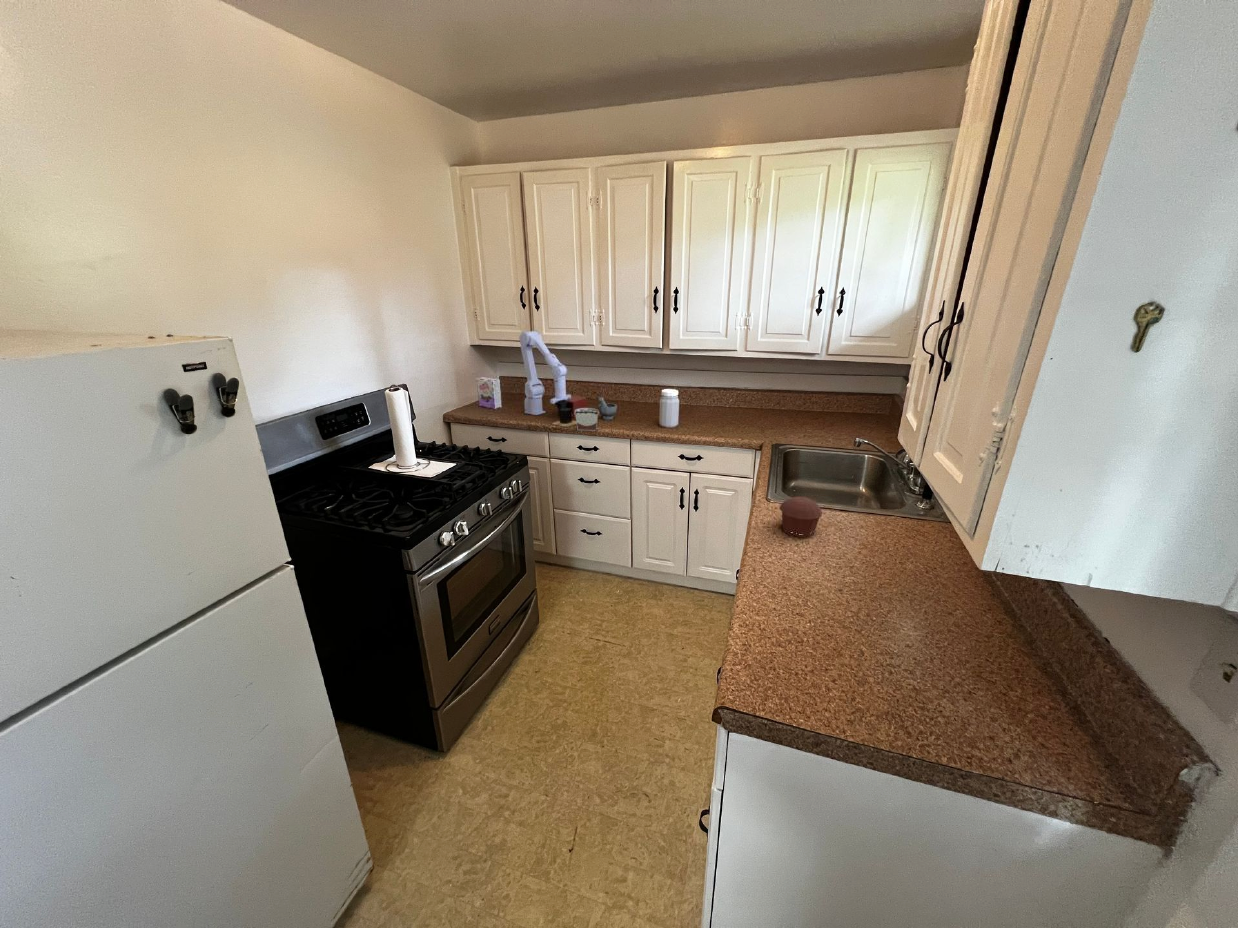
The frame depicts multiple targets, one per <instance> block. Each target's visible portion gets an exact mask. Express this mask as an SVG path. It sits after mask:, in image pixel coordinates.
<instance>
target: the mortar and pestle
mask: <svg viewBox="0 0 1238 928" xmlns="http://www.w3.org/2000/svg"><path fill="white" fill-rule="evenodd" d="M598 401H599V405H598V411H599V415H601V419H603V420H606V421H607V420H613V419H614V415H616V412H617V409H618V405H617V404H615V403H611V402H608V403H606V401H605V398H604V397H602V396H601V397H599V398H598Z"/></svg>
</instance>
